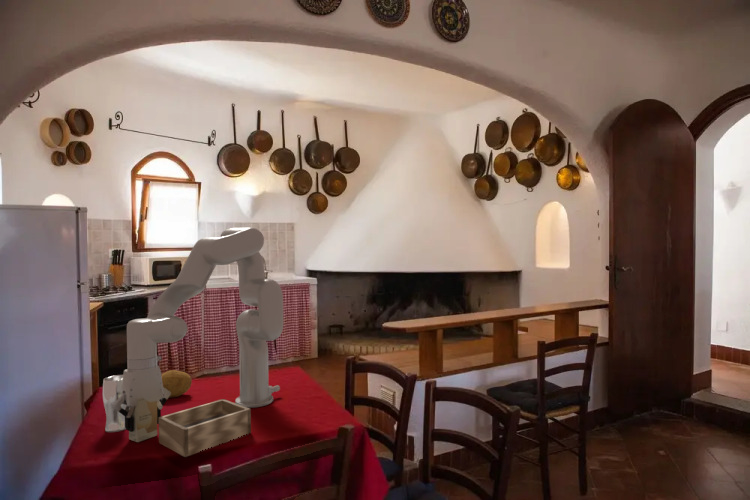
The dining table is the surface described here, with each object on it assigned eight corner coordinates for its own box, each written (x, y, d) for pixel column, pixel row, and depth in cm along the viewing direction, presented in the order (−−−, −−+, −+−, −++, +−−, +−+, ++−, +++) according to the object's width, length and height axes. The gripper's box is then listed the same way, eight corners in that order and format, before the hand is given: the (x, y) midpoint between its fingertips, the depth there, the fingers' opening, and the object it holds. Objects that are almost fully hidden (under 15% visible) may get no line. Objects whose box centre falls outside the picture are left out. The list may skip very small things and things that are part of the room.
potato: (153, 368, 176) (150, 372, 167) (193, 367, 180) (191, 371, 171) (152, 395, 175) (148, 401, 167) (191, 393, 179) (190, 399, 170)
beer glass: (110, 424, 147) (109, 375, 147) (133, 423, 148) (133, 374, 148) (98, 433, 140) (97, 381, 140) (124, 432, 141) (123, 380, 141)
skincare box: (137, 443, 133) (136, 398, 133) (128, 439, 136) (127, 396, 135) (158, 435, 139) (158, 392, 138) (149, 432, 141) (148, 390, 141)
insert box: (223, 421, 149) (223, 398, 148) (250, 433, 140) (250, 408, 139) (158, 442, 133) (158, 417, 133) (184, 457, 124) (184, 429, 124)
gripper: (165, 355, 146) (166, 415, 146) (103, 367, 133) (105, 432, 133) (178, 359, 141) (179, 420, 141) (115, 372, 128) (116, 439, 128)
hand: (143, 426), depth 137 cm, fingers closed on skincare box, 6 cm apart
